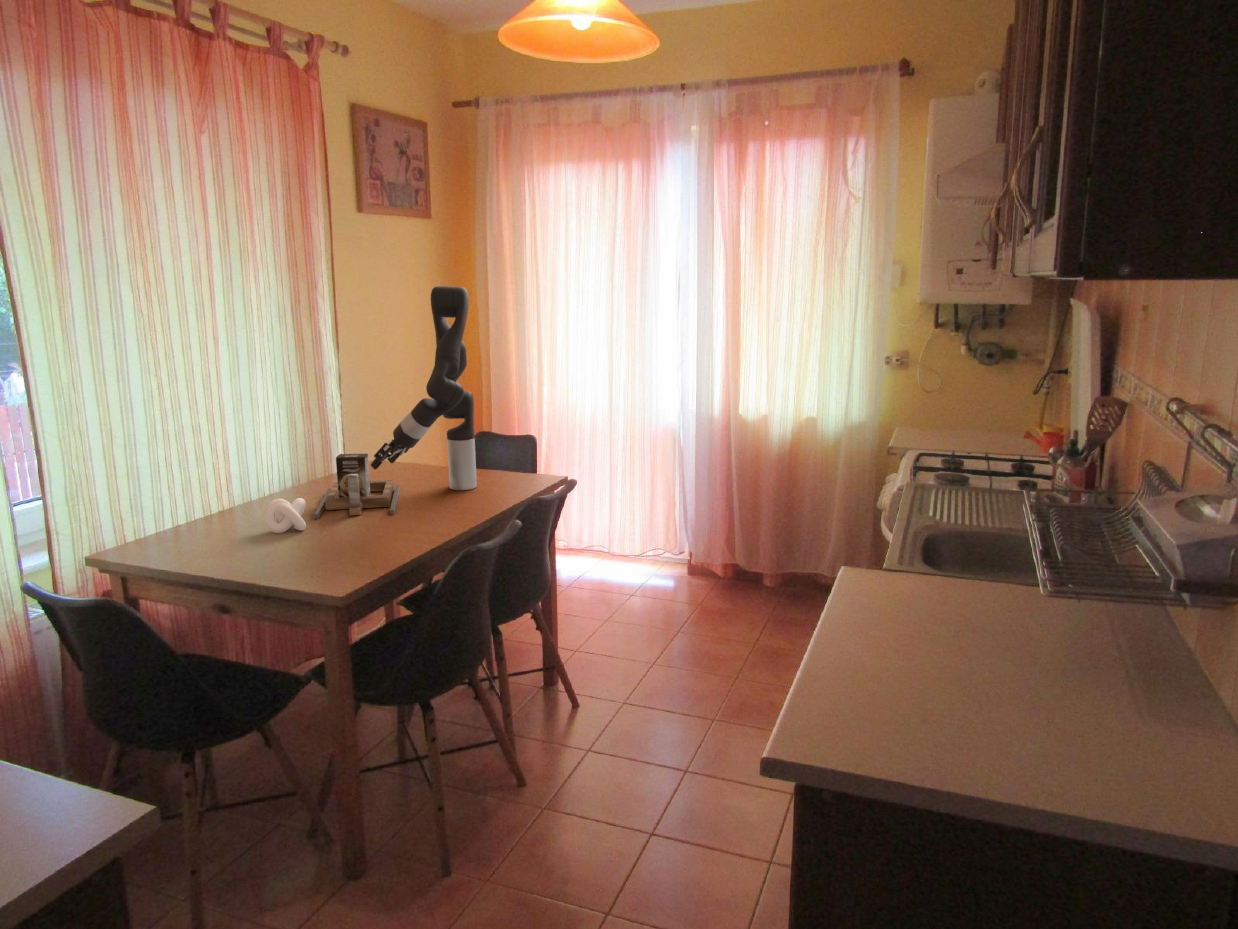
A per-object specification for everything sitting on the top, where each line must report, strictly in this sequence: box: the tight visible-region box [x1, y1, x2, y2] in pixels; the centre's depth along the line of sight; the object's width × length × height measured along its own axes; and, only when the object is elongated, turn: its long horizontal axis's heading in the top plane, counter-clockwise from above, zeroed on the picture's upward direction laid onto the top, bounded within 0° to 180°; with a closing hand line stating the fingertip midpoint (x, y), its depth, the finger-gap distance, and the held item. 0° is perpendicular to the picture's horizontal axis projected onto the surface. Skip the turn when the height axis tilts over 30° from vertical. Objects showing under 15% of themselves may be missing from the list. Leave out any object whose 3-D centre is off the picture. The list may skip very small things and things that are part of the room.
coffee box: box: [335, 453, 371, 498], centre depth 275 cm, size 9×6×16 cm
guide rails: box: [313, 484, 401, 520], centre depth 277 cm, size 32×23×2 cm
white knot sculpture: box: [263, 497, 307, 534], centre depth 248 cm, size 11×12×9 cm
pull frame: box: [325, 474, 394, 516], centre depth 277 cm, size 32×19×12 cm, turn 11°
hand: (381, 464), depth 258 cm, fingers open, 8 cm apart
